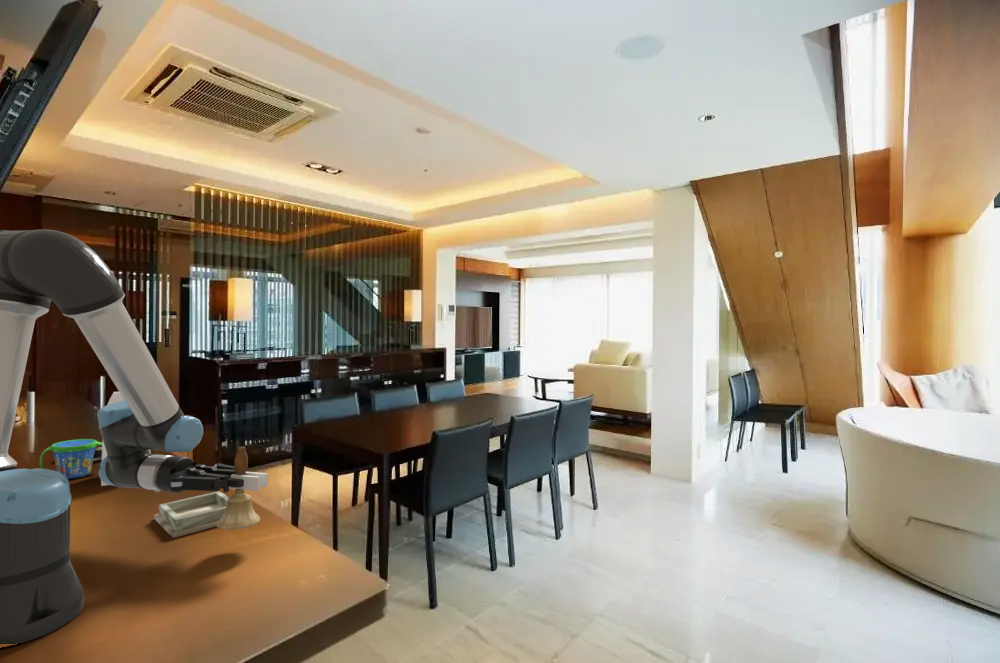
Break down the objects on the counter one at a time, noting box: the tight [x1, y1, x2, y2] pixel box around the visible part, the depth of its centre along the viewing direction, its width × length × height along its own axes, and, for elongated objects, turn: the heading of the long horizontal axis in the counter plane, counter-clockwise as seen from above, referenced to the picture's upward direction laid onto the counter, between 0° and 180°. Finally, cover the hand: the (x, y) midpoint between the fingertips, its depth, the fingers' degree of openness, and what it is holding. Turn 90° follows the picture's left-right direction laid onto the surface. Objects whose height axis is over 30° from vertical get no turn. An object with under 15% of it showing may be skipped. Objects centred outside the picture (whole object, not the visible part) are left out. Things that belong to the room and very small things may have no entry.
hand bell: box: [215, 446, 261, 531], centre depth 106 cm, size 8×8×16 cm
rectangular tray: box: [153, 490, 230, 539], centre depth 121 cm, size 15×15×4 cm
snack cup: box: [39, 438, 102, 480], centre depth 151 cm, size 16×10×10 cm
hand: (262, 481), depth 105 cm, fingers closed on hand bell, 2 cm apart
